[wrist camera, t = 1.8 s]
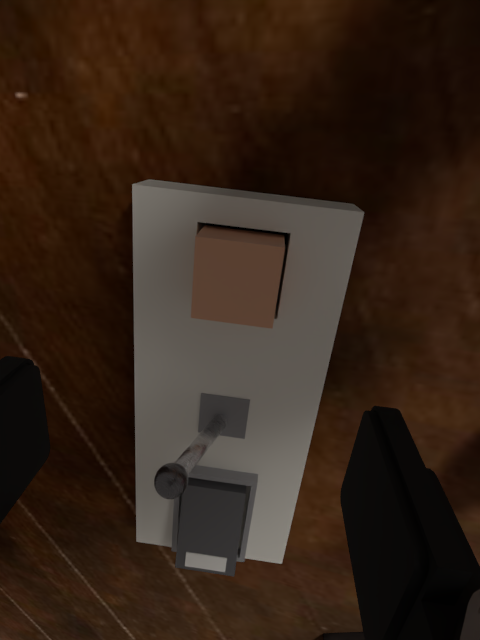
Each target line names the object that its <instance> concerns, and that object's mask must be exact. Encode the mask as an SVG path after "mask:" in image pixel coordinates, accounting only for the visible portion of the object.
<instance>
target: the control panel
mask: <svg viewBox="0 0 480 640" xmlns="http://www.w3.org/2000/svg"><path fill="white" fill-rule="evenodd" d="M132 209H133V294H134V379H135V464H136V542H143V543H149V544H156V545H162V546H169V547H172V550H171V551H175V552H177V544H178V534H179V524H180V514H181V504H182V495H181V496H180V497H178V498H175V499H165V498H163V497H161V496H160V495H159V494H158V493H157V491H156V489H155V486H154V478H155V475H156V473H157V471H158V470H159V469H160V468H161V467H162V466H163V465H165V464H167V463H175V461H176V460H177V459H178V458H179V457H180V456H181V454H182V453H183V452H184V451H185V450H186V449H187V448H188V446H189V445H190V444H191V443H192V442H193V441H194V439H195V438H196V437H197V436H198V435H199V434H200V432H201V431H202V430H203V429H204V428H205V427H206V425H207V424H208V423H209V422H210V421H211V420H212V418H213V417H214V416H215V415H218V414H222V415H224V416H225V417H226V419H227V425H226V427H225V428H224V430H223V431H222V432H221V434H220V435H219V436H218V437H217V439H216V440H215V441H214V442H213V444H212V445H211V446H210V448H209V449H208V450H207V451H206V453H205V454H204V455H203V457H202V458H201V459H200V460H199V462H198V463H197V464H196V465H195V467H194V468H193V469H192V471H191V472H190V473H189V474H188V477H191V478H198V479H204V480H211V481H218V482H225V483H232V484H239V485H245V486H246V497H245V504H244V511H243V518H242V525H241V532H240V539H239V546H238V553H237V560H236V561H240V562H244V559H245V558H247V559H254V560H260V561H267V562H273V563H280V564H282V561H283V556H284V552H285V548H286V544H287V539H288V535H289V531H290V527H291V522H292V518H293V514H294V510H295V505H296V501H297V497H298V493H299V488H300V484H301V480H302V476H303V471H304V467H305V463H306V459H307V454H308V450H309V446H310V442H311V437H312V433H313V429H314V425H315V420H316V416H317V412H318V408H319V403H320V399H321V395H322V391H323V386H324V382H325V378H326V374H327V369H328V365H329V361H330V357H331V352H332V348H333V344H334V339H335V335H336V331H337V327H338V322H339V318H340V314H341V310H342V305H343V301H344V297H345V293H346V288H347V284H348V280H349V276H350V271H351V267H352V263H353V259H354V254H355V250H356V246H357V242H358V237H359V233H360V229H361V225H362V220H363V216H364V212H363V211H362V210H361V209H359V208H358V207H357V206H356V205H354V204H350V203H342V202H334V201H325V200H317V199H309V198H300V197H292V196H284V195H275V194H267V193H259V192H251V191H242V190H234V189H226V188H217V187H209V186H201V185H193V184H184V183H176V182H168V181H159V180H151V179H149V180H145V181H142V182H138V183H135V184H132ZM206 223H211V224H219V225H227V226H235V227H243V228H252V229H260V230H268V231H276V232H284V233H288V234H287V241H286V247H285V253H284V260H283V266H282V273H281V279H280V285H279V292H278V298H277V303H276V309H275V316H274V322H273V328H272V329H271V328H263V327H256V326H248V325H241V324H233V323H226V322H218V321H211V320H203V319H196V318H191V304H192V287H193V269H194V251H195V236H196V235H197V234H198V233H199V232H200V230H201V229H202V228H203V227H204V226H205V225H206Z"/></svg>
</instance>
